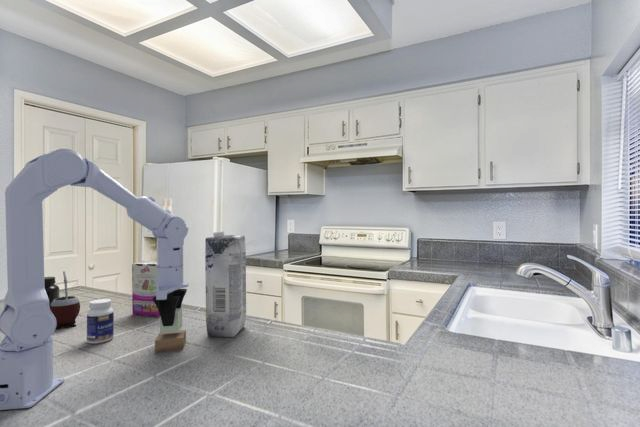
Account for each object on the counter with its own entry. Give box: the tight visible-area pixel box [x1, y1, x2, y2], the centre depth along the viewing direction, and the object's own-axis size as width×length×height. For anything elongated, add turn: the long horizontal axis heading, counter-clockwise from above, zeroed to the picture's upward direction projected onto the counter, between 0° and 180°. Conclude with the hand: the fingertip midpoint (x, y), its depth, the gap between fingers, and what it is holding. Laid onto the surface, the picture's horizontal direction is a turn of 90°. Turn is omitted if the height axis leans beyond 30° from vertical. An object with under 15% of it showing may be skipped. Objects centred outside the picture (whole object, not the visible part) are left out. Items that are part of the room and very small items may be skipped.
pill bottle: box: [86, 298, 115, 345], centre depth 86 cm, size 6×6×10 cm
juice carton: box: [204, 230, 247, 338], centre depth 92 cm, size 9×10×27 cm
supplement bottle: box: [44, 276, 61, 307], centre depth 108 cm, size 7×7×12 cm
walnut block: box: [154, 329, 187, 353], centre depth 82 cm, size 6×6×3 cm
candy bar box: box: [131, 261, 160, 318], centre depth 109 cm, size 11×5×16 cm, turn 73°
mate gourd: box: [50, 271, 81, 331], centre depth 98 cm, size 8×8×15 cm
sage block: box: [159, 307, 183, 333], centre depth 82 cm, size 4×4×4 cm
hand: (170, 322), depth 82 cm, fingers closed on sage block, 4 cm apart
